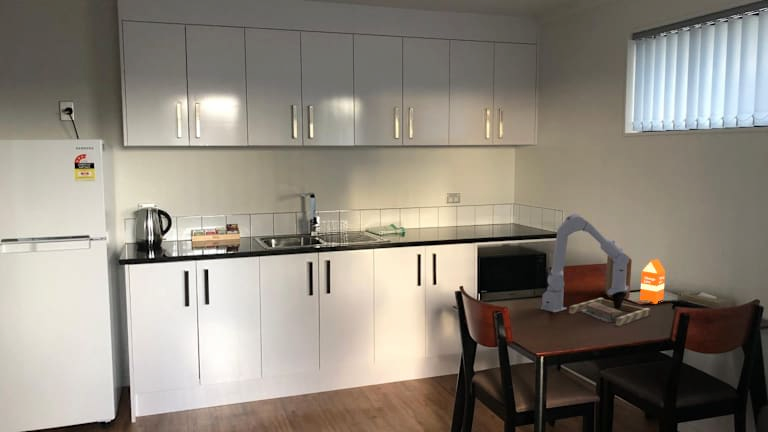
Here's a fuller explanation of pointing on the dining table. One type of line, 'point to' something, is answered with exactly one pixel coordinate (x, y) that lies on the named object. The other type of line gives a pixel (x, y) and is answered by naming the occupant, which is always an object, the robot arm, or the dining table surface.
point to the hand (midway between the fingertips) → (617, 308)
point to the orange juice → (652, 282)
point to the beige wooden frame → (621, 320)
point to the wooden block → (610, 275)
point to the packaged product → (602, 312)
